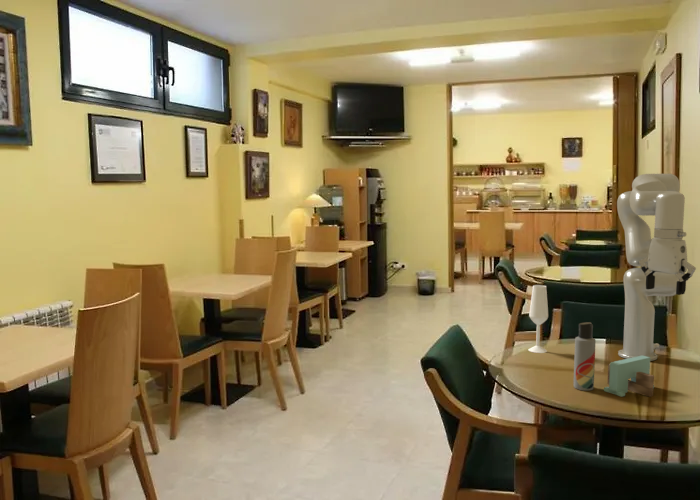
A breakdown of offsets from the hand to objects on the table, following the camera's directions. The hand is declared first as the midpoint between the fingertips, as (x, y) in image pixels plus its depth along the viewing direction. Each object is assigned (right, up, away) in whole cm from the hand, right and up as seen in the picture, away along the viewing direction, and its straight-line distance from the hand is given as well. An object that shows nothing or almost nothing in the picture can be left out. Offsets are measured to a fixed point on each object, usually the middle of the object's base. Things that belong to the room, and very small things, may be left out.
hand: (664, 291), depth 185 cm
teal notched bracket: (-11, -29, -1) cm, 31 cm away
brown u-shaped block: (-11, -29, -1) cm, 31 cm away
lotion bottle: (-24, -29, +1) cm, 38 cm away
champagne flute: (-25, -25, +43) cm, 56 cm away
